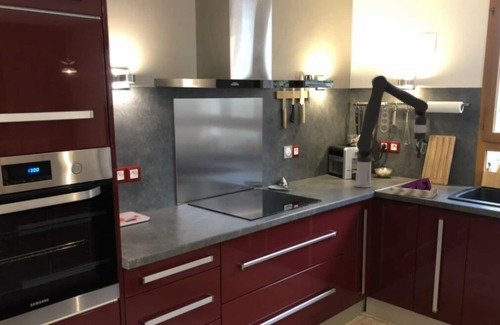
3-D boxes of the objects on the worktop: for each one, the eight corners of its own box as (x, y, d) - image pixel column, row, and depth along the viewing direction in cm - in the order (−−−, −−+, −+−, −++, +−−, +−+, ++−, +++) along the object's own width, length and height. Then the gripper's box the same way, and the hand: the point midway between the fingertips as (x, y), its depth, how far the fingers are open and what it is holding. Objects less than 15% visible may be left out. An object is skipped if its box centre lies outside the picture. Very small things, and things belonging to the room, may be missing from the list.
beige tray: (390, 193, 282) (390, 187, 282) (396, 189, 294) (396, 183, 294) (432, 198, 269) (433, 191, 269) (436, 193, 281) (437, 187, 281)
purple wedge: (401, 199, 294) (422, 192, 279) (397, 187, 296) (418, 179, 281) (411, 197, 298) (432, 190, 283) (407, 185, 300) (428, 177, 285)
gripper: (416, 130, 301) (415, 156, 304) (412, 132, 290) (410, 158, 293) (428, 131, 298) (426, 157, 300) (424, 132, 286) (423, 159, 289)
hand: (419, 157), depth 296 cm, fingers closed
